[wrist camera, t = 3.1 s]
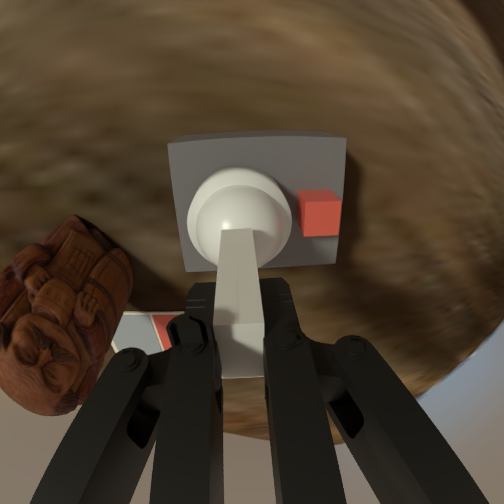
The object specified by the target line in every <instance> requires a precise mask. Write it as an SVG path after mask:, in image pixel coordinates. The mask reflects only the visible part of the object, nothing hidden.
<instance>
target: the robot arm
mask: <svg viewBox="0 0 504 504" xmlns="http://www.w3.org/2000/svg"><path fill="white" fill-rule="evenodd" d="M166 330H167V334H168V337H169V340H170V343H171V346H172V347H170V348H169V349H167V350H164V351H161V352H158V353H154V354H150V355H147V354H146V353H145V352H144V350H141V349H139V348H135V347H129V348H125V349H122V350H120V351H119V352H117V353H116V354H115V355H114V356H113V357H112V358H111V360H110V362H109V363H108V365H107V366H106V368H105V369H104V371H103V372H102V374H101V376H100V377H99V379H98V380H97V382H96V384H95V385H94V387H93V388H92V390H91V392H90V393H89V395H88V396H87V398H86V400H85V401H84V403H83V405H82V406H81V408H80V410H79V411H78V413H77V415H76V417H75V418H74V420H73V422H72V423H71V425H70V427H69V429H68V430H67V433H66V434H65V436H64V438H63V439H62V441H61V443H60V445H59V447H58V448H57V450H56V452H55V454H54V456H53V458H52V459H51V462H50V463H49V465H48V467H47V469H46V471H45V473H44V475H43V477H42V479H41V481H40V483H39V485H38V487H37V489H36V491H35V494H34V495H33V497H32V500H31V502H30V504H129V503H130V501H131V498H132V496H133V493H134V491H135V489H136V486H137V484H138V481H139V479H140V477H141V474H142V472H143V469H144V467H145V465H146V462H147V460H148V457H149V455H150V453H151V450H152V448H153V445H154V443H155V441H156V446H155V454H154V462H153V471H152V481H151V491H150V502H149V504H224V480H223V479H224V475H223V388H222V377H223V378H239V377H257V376H264V378H265V400H266V406H267V416H268V426H269V436H270V446H271V456H272V466H273V476H274V486H275V496H276V504H347V503H346V498H345V493H344V488H343V484H342V479H341V474H340V470H339V465H338V461H337V456H336V451H335V447H334V443H333V438H332V434H331V430H330V425H329V421H328V417H327V413H326V410H327V411H328V413H329V415H330V417H331V418H332V420H333V422H334V424H335V425H336V427H337V429H338V431H339V433H340V434H341V436H342V438H343V440H344V441H345V443H346V445H347V447H348V448H349V450H350V452H351V454H352V455H353V457H354V459H355V460H356V462H357V464H358V466H359V467H360V469H361V471H362V472H363V474H364V476H365V478H366V479H367V481H368V483H369V485H370V486H371V488H372V490H373V491H374V493H375V495H376V497H377V498H378V500H379V502H380V504H489V502H488V501H487V499H486V498H485V496H484V495H483V493H482V492H481V490H480V489H479V487H478V486H477V484H476V483H475V481H474V480H473V478H472V477H471V475H470V474H469V472H468V471H467V469H466V468H465V467H464V465H463V464H462V462H461V461H460V459H459V458H458V457H457V455H456V454H455V452H454V451H453V450H452V448H451V447H450V445H449V444H448V443H447V441H446V440H445V438H444V437H443V436H442V434H441V433H440V432H439V430H438V429H437V428H436V426H435V425H434V423H433V422H432V421H431V419H430V418H429V417H428V415H427V414H426V413H425V411H424V410H423V409H422V408H421V406H420V405H419V404H418V402H417V401H416V400H415V398H414V397H413V396H412V394H411V393H410V392H409V390H408V389H407V388H406V387H405V385H404V384H403V383H402V381H401V380H400V379H399V378H398V376H397V375H396V374H395V373H394V371H393V370H392V369H391V367H390V366H389V365H388V364H387V362H386V361H385V360H384V359H383V357H382V356H381V355H380V354H379V352H378V351H377V350H376V349H375V347H374V346H373V345H372V344H371V343H370V342H369V341H368V340H367V339H365V338H362V337H360V336H354V335H349V336H344V337H342V338H340V339H339V340H337V342H336V343H335V344H334V345H333V344H326V343H320V342H316V341H313V340H311V339H309V338H308V337H306V335H305V334H304V333H303V332H302V331H301V328H300V325H299V321H298V317H297V313H296V310H295V306H294V302H293V298H292V295H291V291H290V287H289V284H288V283H287V282H286V281H285V280H284V279H283V278H266V279H259V278H258V270H257V262H256V254H255V246H254V239H253V231H252V228H245V229H227V230H221V239H220V249H219V260H218V270H217V281H216V282H207V283H195V284H194V285H193V286H192V288H191V289H190V290H189V293H188V297H187V302H186V309H185V312H184V314H180V315H178V316H176V317H174V318H173V319H172V320H170V321H169V322H168V324H167V326H166ZM325 408H326V409H325Z"/></svg>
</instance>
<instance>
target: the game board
mask: <svg viewBox="0 0 504 504" xmlns="http://www.w3.org/2000/svg"><path fill="white" fill-rule="evenodd" d="M184 312H185V311H174V312H124V313H123V316H122V318H121V320H120V323H119V325H118V328H117V331H116V333H115V335H114V338H113V340H112V343H111V345H112V347H113V349H114V350H115V352H116V353H117V352H119V351H120V350H122V349H125V348H129V347H135V348H139V349H141V350H144V352H145V353H146V354H147V355H150V354H154V353H158V352H161V351H164V350H167V349H169V348H170V347H172V346H171V343H170V340H169V337H168V334H167V330H166V326H167V324H168V322H169V321H170V320H172V319H173V318H174V317H176V316H178V315H180V314H184ZM257 377H262V376H257ZM222 378H223V377H222ZM239 378H245V377H239Z"/></svg>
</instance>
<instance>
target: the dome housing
mask: <svg viewBox="0 0 504 504" xmlns="http://www.w3.org/2000/svg"><path fill="white" fill-rule="evenodd" d="M168 154H169V163H170V172H171V180H172V188H173V195H174V202H175V209H176V216H177V223H178V229H179V235H180V241H181V247H182V253H183V259H184V264H185V270H186V272H197V271H217V270H218V266H216V265H215V264H213V263H211V262H210V261H208V260H207V259H205V258H204V257H203V256H202V255H201V254H200V253H199V252H198V251H197V249H196V248H195V247H194V245H193V243H192V241H191V239H190V236H189V233H188V228H187V216H188V211H189V208H190V205H191V203H192V201H193V198H194V196H195V194H196V192H197V190H198V188H199V186H200V185H201V184H202V182H203V181H204V180H205V179H206V178H207V177H208V176H210V175H211V174H212V173H214V172H216V171H217V170H220V169H222V168H225V167H229V166H236V165H244V166H250V167H254V168H257V169H259V170H261V171H263V172H265V173H267V174H268V175H269V176H270V177H272V178H273V179H274V180H275V181H276V183H277V184H278V185H279V187H280V189H281V191H282V193H283V195H284V197H285V199H286V201H287V203H288V205H289V208H290V211H291V216H292V226H291V232H290V236H289V238H288V241H287V243H286V244H285V246H284V247H283V249H282V250H281V251H280V252H279V253H278V255H277V256H275V257H274V258H273V259H272V260H270V261H268V262H267V263H266V264H264V265H263V266H261V267H259V268H273V267H290V266H306V265H322V264H335V262H336V255H337V247H338V239H339V230H340V221H341V211H342V201H343V189H344V175H345V158H346V138H344V137H342V136H339V135H336V134H333V133H330V132H327V131H311V130H257V131H234V132H218V133H206V134H195V135H186V136H181V137H179V138H177V139H175V140H173V141H172V142H170V143H168Z"/></svg>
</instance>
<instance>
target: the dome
mask: <svg viewBox="0 0 504 504" xmlns="http://www.w3.org/2000/svg"><path fill="white" fill-rule="evenodd" d="M291 226H292V216H291V211H290V208H289V205H288V203H287V201H286V199H285V197H284V195H283V193H282V191H281V189H280V187H279V185H278V184H277V183H276V181H275V180H274V179H273V178H272V177H270V176H269V175H268V174H267V173H265V172H263V171H261V170H259V169H257V168H254V167H250V166H244V165H236V166H229V167H225V168H222V169H220V170H217V171H216V172H214V173H212V174H211V175H210V176H208V177H207V178H206V179H205V180H204V181H203V182H202V184H201V185H200V186H199V188H198V190H197V192H196V194H195V196H194V198H193V201H192V203H191V205H190V208H189V211H188V216H187V228H188V233H189V236H190V239H191V241H192V243H193V245H194V247H195V248H196V249H197V251H198V252H199V253H200V254H201V255H202V256H203V257H204V258H205V259H207V260H208V261H210V262H211V263H213V264H215V265H216V266H218V260H219V249H220V239H221V230H227V229H245V228H252V231H253V239H254V246H255V254H256V262H257V268H259V267H261V266H263V265H264V264H266V263H267V262H268V261H270V260H272V259H273V258H274V257H275V256H277V255H278V253H279V252H280V251H281V250H282V249H283V247H284V246H285V244H286V243H287V241H288V238H289V236H290V232H291Z"/></svg>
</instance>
